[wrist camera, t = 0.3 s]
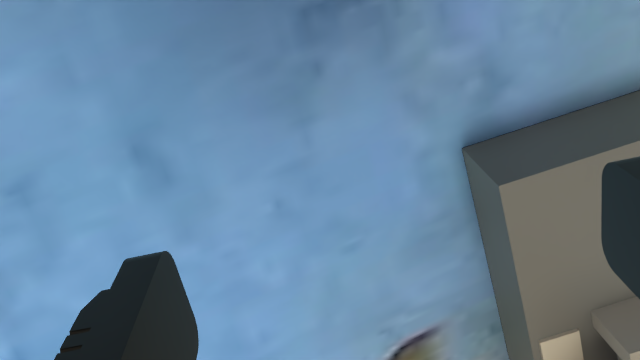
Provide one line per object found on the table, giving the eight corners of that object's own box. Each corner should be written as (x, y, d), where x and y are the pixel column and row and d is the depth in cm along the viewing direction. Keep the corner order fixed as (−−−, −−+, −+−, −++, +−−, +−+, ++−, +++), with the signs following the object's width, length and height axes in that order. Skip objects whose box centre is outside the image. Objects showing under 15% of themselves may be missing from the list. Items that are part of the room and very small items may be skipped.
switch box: (461, 148, 29) (530, 218, 22) (649, 87, 29) (785, 136, 21) (532, 462, 39) (597, 587, 31) (675, 418, 38) (775, 535, 31)
